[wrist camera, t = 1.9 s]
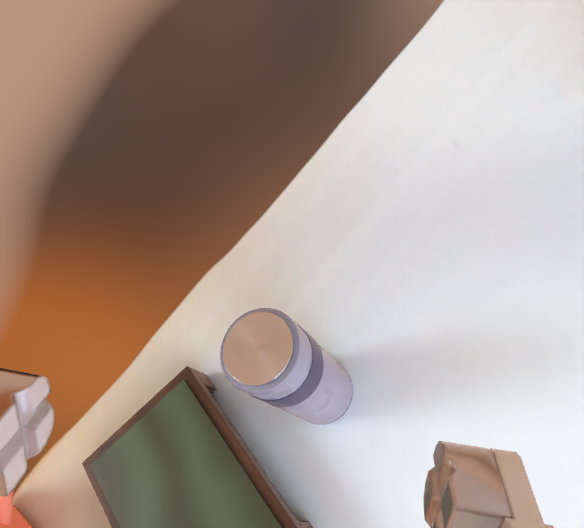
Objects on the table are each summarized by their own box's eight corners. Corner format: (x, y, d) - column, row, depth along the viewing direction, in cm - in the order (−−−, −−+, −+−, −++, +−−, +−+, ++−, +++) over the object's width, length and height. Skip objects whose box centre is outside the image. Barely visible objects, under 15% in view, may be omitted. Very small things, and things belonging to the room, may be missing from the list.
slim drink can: (325, 346, 45) (264, 288, 33) (367, 393, 42) (317, 347, 30) (278, 389, 45) (201, 346, 33) (317, 439, 42) (248, 411, 30)
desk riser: (206, 374, 48) (185, 364, 44) (323, 542, 39) (307, 545, 35) (107, 466, 47) (79, 463, 44) (202, 657, 38) (175, 670, 35)
